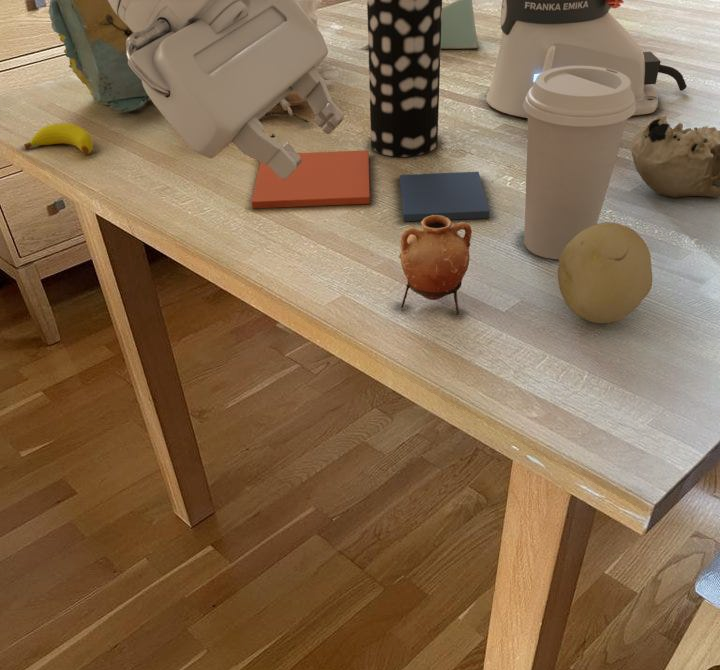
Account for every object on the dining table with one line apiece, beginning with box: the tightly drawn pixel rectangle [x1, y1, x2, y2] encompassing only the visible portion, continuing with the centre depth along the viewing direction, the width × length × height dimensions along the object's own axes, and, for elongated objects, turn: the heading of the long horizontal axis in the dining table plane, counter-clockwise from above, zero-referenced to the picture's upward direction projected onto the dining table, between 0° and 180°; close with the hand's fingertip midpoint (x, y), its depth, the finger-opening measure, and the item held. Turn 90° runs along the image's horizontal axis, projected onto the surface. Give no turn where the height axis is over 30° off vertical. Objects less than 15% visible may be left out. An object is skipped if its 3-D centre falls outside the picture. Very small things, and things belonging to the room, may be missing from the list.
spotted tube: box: [366, 0, 443, 158], centre depth 87 cm, size 8×8×20 cm
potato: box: [557, 222, 653, 324], centre depth 63 cm, size 8×8×8 cm
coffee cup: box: [523, 66, 636, 261], centre depth 69 cm, size 10×10×15 cm
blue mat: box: [399, 171, 491, 222], centre depth 83 cm, size 9×10×1 cm
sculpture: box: [48, 0, 150, 114], centre depth 103 cm, size 18×18×15 cm
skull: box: [630, 114, 720, 199], centre depth 81 cm, size 9×18×10 cm
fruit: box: [23, 122, 94, 155], centre depth 97 cm, size 10×2×5 cm
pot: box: [398, 215, 473, 315], centre depth 65 cm, size 6×8×6 cm
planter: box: [364, 0, 479, 50], centre depth 121 cm, size 8×6×18 cm
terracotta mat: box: [251, 149, 371, 209], centre depth 87 cm, size 13×13×1 cm
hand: (316, 147), depth 62 cm, fingers open, 8 cm apart
